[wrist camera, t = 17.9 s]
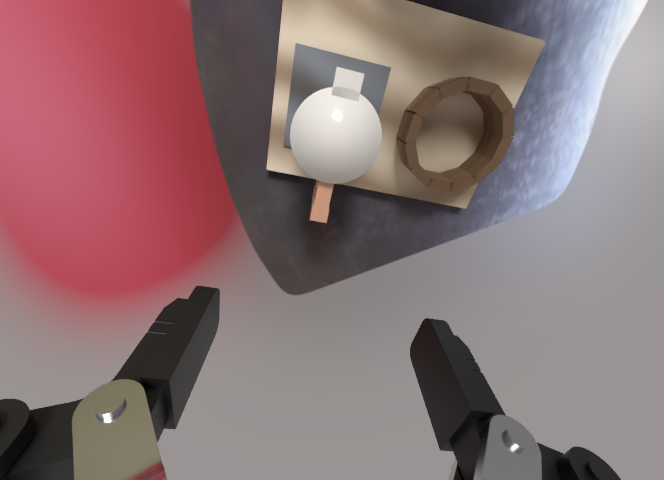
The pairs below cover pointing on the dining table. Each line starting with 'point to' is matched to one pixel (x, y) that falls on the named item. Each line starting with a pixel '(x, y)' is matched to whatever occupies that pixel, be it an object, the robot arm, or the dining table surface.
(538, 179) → the dining table surface
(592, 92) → the dining table surface
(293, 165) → the serving board
